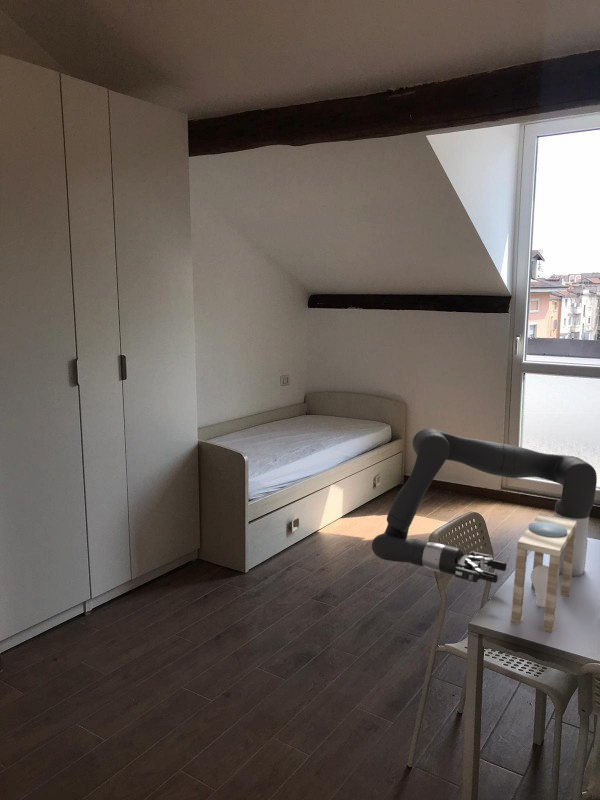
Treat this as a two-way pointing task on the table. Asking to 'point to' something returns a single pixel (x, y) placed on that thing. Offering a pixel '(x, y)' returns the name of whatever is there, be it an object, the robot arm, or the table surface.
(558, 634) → the table surface
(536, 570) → the lightbulb
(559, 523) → the stool
